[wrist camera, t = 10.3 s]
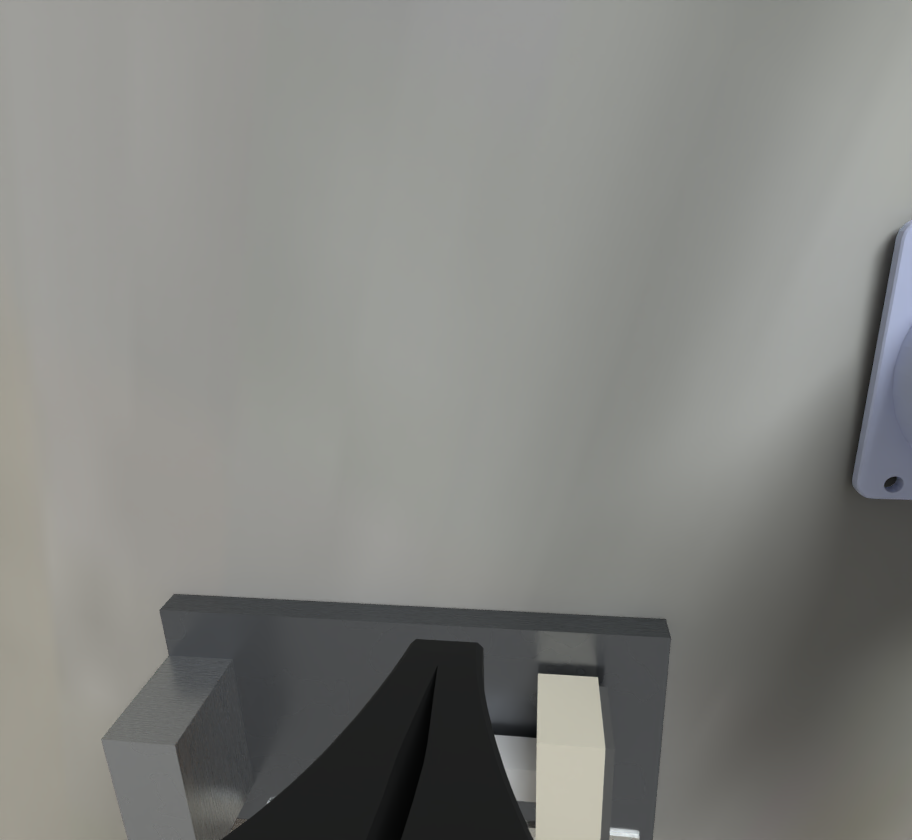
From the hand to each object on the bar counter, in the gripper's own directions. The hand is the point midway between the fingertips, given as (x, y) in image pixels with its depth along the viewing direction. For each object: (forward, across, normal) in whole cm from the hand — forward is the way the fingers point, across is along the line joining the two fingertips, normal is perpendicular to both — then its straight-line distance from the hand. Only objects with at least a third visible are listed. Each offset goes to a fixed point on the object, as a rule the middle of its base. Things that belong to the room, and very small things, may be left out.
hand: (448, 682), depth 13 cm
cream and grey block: (+8, -1, +10) cm, 13 cm away
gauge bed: (+9, +3, +10) cm, 14 cm away
